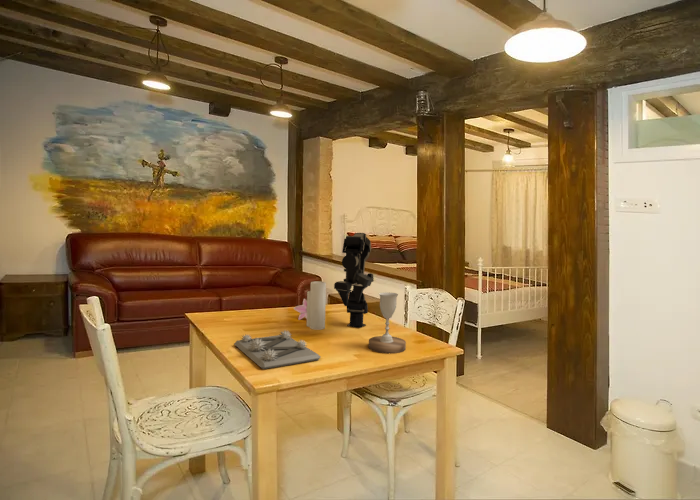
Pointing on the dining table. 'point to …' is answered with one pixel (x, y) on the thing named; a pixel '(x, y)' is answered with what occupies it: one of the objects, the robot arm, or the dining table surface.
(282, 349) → the decorative plate
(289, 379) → the dining table surface
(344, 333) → the dining table surface
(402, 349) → the walnut pedestal
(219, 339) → the dining table surface
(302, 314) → the lily
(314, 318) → the vase
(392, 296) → the chalice
